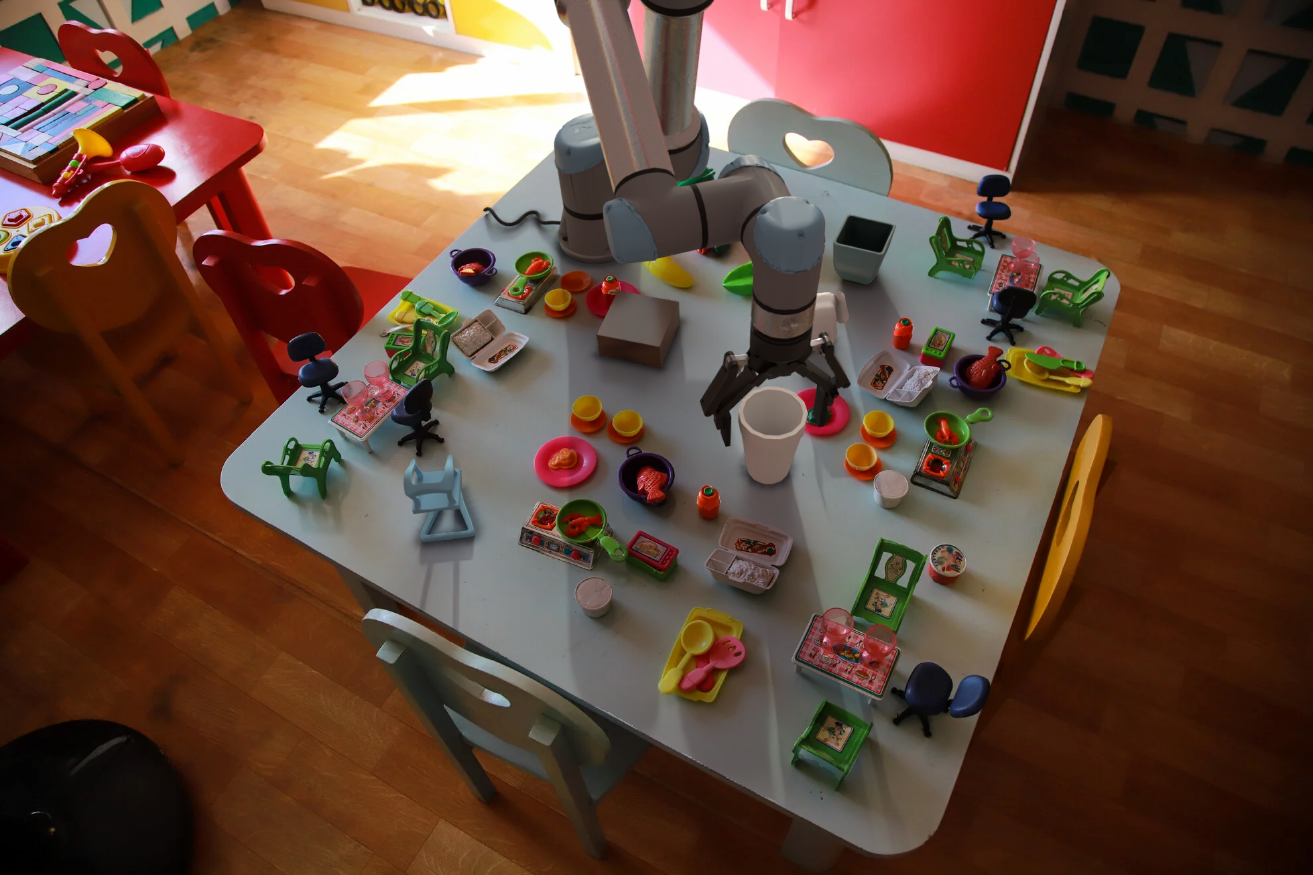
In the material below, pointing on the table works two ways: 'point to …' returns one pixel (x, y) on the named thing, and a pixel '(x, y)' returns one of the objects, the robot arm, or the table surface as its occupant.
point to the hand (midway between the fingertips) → (772, 429)
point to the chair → (437, 497)
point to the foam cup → (771, 431)
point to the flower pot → (861, 248)
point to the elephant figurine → (829, 314)
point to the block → (638, 328)
